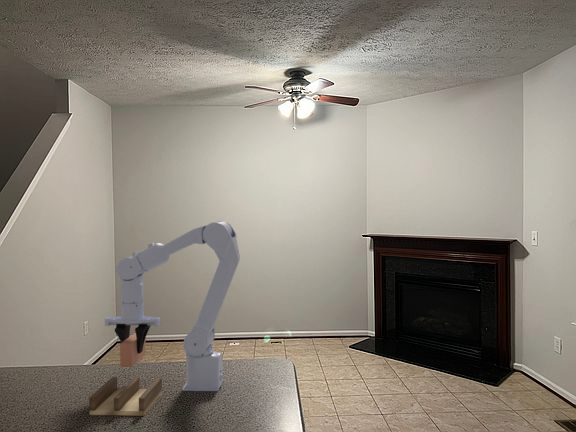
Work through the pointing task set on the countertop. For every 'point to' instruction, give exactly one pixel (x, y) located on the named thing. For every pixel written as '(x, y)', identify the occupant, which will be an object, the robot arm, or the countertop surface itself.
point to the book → (130, 352)
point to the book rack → (124, 398)
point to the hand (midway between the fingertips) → (133, 352)
